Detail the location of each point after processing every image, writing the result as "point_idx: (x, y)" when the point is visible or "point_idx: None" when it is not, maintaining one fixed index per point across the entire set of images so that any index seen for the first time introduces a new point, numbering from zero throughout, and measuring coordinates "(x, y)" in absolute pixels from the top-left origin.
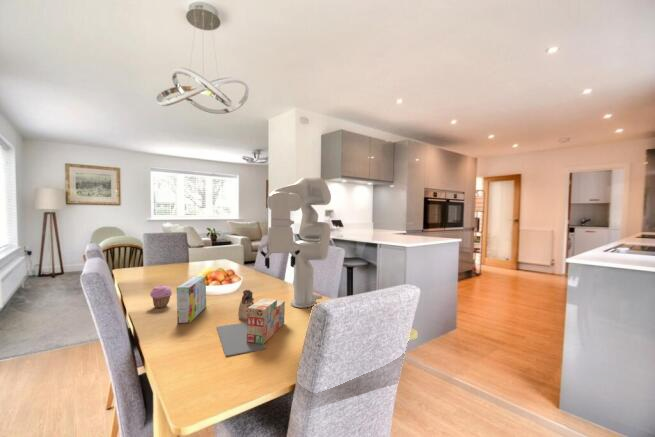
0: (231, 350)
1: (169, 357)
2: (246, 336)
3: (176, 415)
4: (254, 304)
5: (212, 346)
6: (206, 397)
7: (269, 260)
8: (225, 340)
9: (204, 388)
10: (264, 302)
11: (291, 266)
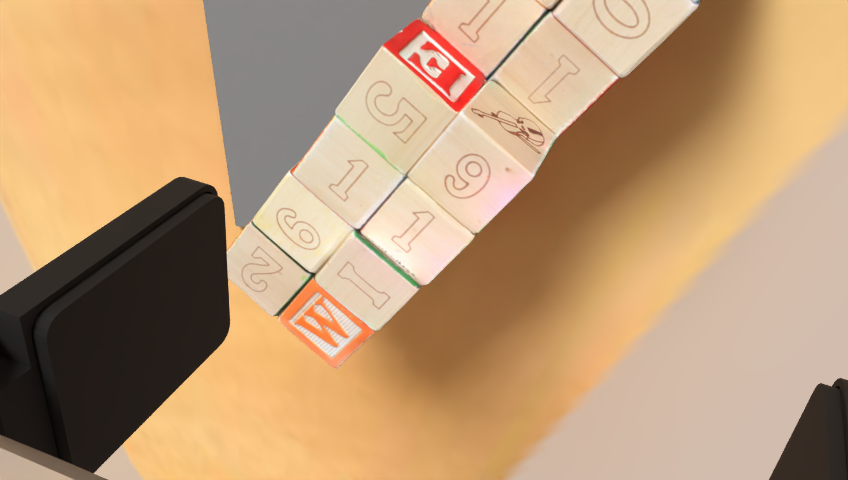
0: (262, 187)
1: (3, 74)
2: (362, 41)
3: (130, 445)
4: (273, 217)
5: (170, 58)
6: (191, 430)
7: (112, 453)
8: (231, 33)
9: (180, 386)
10: (371, 212)
11: (778, 463)
